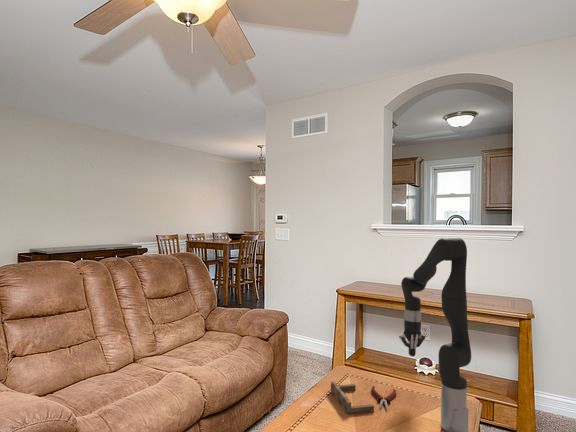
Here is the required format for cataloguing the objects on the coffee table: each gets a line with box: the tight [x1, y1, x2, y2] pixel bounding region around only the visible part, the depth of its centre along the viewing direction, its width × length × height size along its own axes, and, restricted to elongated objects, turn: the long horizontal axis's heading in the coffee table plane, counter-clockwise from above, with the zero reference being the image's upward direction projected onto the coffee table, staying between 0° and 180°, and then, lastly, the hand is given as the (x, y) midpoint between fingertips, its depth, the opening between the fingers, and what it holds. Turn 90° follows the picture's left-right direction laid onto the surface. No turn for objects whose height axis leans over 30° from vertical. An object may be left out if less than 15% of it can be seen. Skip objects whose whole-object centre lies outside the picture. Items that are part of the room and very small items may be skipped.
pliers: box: [370, 385, 397, 411], centre depth 163 cm, size 12×20×3 cm, turn 165°
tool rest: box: [330, 380, 375, 415], centre depth 161 cm, size 21×12×5 cm, turn 13°
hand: (412, 355), depth 168 cm, fingers closed
